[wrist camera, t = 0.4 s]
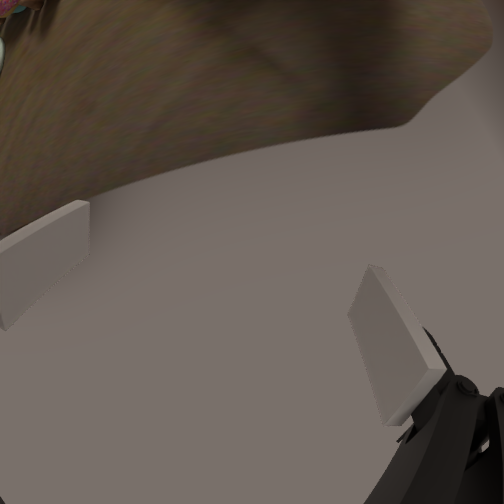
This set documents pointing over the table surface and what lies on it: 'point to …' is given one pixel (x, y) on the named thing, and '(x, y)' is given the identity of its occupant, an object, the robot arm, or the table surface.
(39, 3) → the rack
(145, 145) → the table surface
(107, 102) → the table surface
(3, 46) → the plate
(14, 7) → the cupcake
